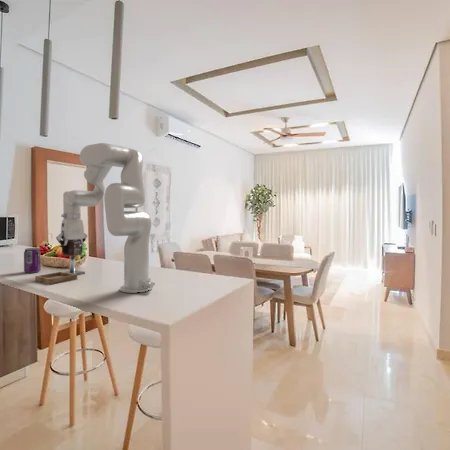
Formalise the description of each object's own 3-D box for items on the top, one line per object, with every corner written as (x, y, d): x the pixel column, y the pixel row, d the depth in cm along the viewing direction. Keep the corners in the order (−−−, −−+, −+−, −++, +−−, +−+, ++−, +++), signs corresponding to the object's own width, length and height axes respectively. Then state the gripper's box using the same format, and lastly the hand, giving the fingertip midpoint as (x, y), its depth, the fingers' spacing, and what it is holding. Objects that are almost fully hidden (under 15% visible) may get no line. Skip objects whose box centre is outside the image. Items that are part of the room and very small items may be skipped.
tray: (77, 279, 141) (77, 274, 141) (51, 284, 130) (51, 279, 130) (61, 276, 147) (60, 271, 146) (35, 281, 136) (35, 276, 136)
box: (73, 256, 148) (73, 241, 147) (62, 255, 149) (62, 240, 149) (82, 254, 154) (81, 240, 153) (71, 254, 155) (71, 239, 155)
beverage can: (43, 271, 156) (43, 248, 156) (28, 274, 150) (28, 249, 150) (36, 270, 160) (35, 247, 160) (21, 272, 154) (21, 248, 154)
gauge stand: (84, 273, 153) (84, 255, 153) (70, 276, 146) (70, 257, 146) (74, 271, 157) (74, 254, 157) (59, 274, 150) (59, 256, 150)
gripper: (60, 217, 141) (60, 255, 142) (92, 216, 156) (92, 251, 157) (50, 216, 145) (50, 254, 145) (82, 216, 160) (83, 250, 161)
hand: (72, 252), depth 151 cm, fingers closed on box, 7 cm apart
